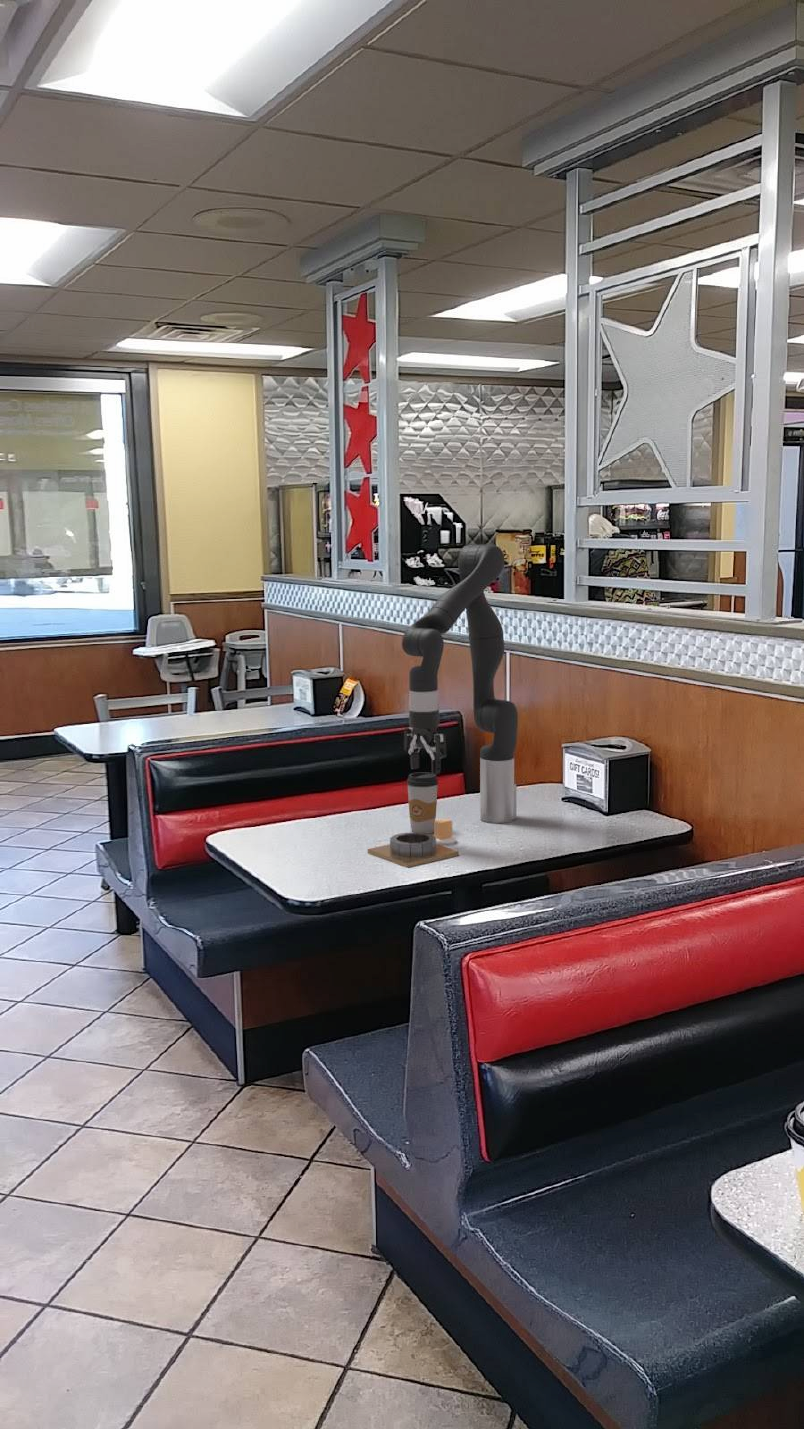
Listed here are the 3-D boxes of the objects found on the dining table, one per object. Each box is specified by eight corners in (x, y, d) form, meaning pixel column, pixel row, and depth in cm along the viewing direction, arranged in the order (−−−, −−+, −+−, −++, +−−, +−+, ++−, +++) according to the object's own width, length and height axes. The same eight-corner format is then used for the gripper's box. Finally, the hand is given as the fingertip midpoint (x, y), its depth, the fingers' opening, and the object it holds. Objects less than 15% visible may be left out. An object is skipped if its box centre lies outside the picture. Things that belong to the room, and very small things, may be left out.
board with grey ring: (418, 841, 285) (418, 826, 285) (459, 855, 273) (459, 839, 272) (367, 853, 276) (367, 837, 275) (407, 867, 263) (407, 851, 263)
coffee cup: (401, 832, 295) (401, 776, 292) (416, 825, 302) (415, 770, 300) (429, 835, 291) (429, 779, 289) (443, 828, 298) (443, 773, 296)
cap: (444, 837, 290) (444, 816, 289) (460, 842, 285) (460, 821, 284) (425, 841, 286) (425, 820, 285) (441, 846, 281) (441, 825, 280)
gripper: (453, 709, 276) (454, 773, 278) (418, 703, 287) (419, 764, 289) (430, 713, 271) (431, 778, 274) (395, 706, 282) (396, 769, 285)
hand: (425, 771), depth 282 cm, fingers open, 8 cm apart
